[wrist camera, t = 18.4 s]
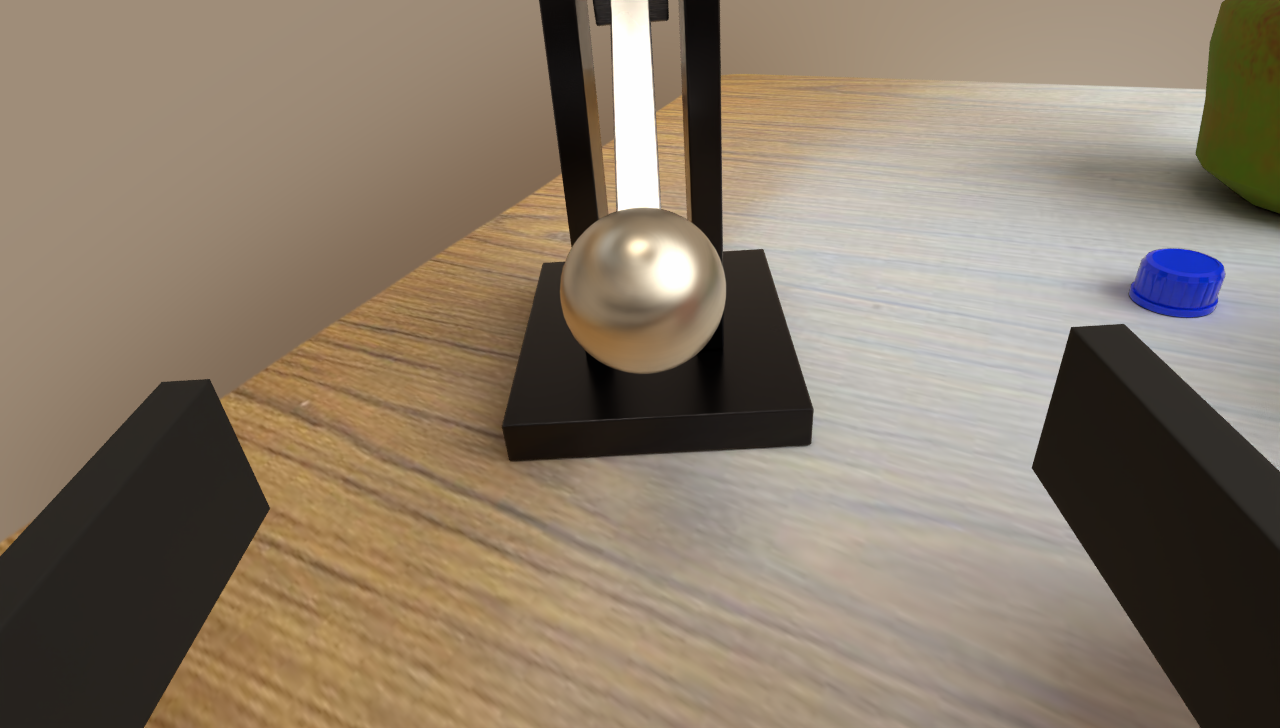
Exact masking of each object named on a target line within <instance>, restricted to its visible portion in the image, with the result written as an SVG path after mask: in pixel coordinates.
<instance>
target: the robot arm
mask: <svg viewBox="0 0 1280 728" xmlns="http://www.w3.org/2000/svg"><path fill="white" fill-rule="evenodd" d="M1032 469H1033V470H1034V472H1035V474H1036V475H1037V477H1038V478H1039V480H1040V481H1041V483H1042V484H1043V486H1044V487H1045V489H1046V490H1047V492H1048V494H1049V495H1050V497H1051V498H1052V500H1053V501H1054V503H1055V504H1056V506H1057V507H1058V509H1059V510H1060V512H1061V514H1062V515H1063V517H1064V518H1065V520H1066V521H1067V523H1068V524H1069V526H1070V527H1071V529H1072V530H1073V532H1074V533H1075V535H1076V537H1077V538H1078V540H1079V541H1080V543H1081V544H1082V546H1083V547H1084V549H1085V550H1086V552H1087V553H1088V555H1089V557H1090V558H1091V560H1092V561H1093V563H1094V564H1095V566H1096V567H1097V569H1098V570H1099V572H1100V573H1101V575H1102V577H1103V578H1104V580H1105V581H1106V583H1107V584H1108V586H1109V587H1110V589H1111V590H1112V592H1113V593H1114V595H1115V597H1116V598H1117V600H1118V601H1119V603H1120V604H1121V606H1122V607H1123V609H1124V610H1125V612H1126V613H1127V615H1128V616H1129V618H1130V620H1131V621H1132V623H1133V624H1134V626H1135V627H1136V629H1137V630H1138V632H1139V633H1140V635H1141V636H1142V638H1143V640H1144V641H1145V643H1146V644H1147V646H1148V647H1149V649H1150V650H1151V652H1152V653H1153V655H1154V656H1155V658H1156V660H1157V661H1158V663H1159V664H1160V666H1161V667H1162V669H1163V670H1164V672H1165V673H1166V675H1167V676H1168V678H1169V680H1170V681H1171V683H1172V684H1173V686H1174V687H1175V689H1176V690H1177V692H1178V693H1179V695H1180V696H1181V698H1182V699H1183V701H1184V703H1185V704H1186V706H1187V707H1188V709H1189V710H1190V712H1191V713H1192V715H1193V716H1194V718H1195V719H1196V721H1197V723H1198V724H1199V726H1200V727H1201V728H1280V471H1279V470H1278V469H1277V468H1275V467H1274V466H1273V465H1272V464H1271V463H1270V462H1269V461H1268V460H1267V459H1266V458H1265V457H1264V456H1263V455H1262V454H1261V453H1260V452H1259V451H1258V450H1256V449H1255V448H1254V447H1253V446H1252V445H1251V444H1250V443H1249V442H1248V441H1247V440H1246V439H1245V438H1244V437H1243V436H1242V435H1241V434H1240V433H1239V432H1237V431H1236V430H1235V429H1234V428H1233V427H1232V426H1231V425H1230V424H1229V423H1228V422H1227V421H1226V420H1225V419H1224V418H1223V417H1222V416H1221V415H1220V414H1218V413H1217V412H1216V411H1215V410H1214V409H1213V408H1212V407H1211V406H1210V405H1209V404H1208V403H1207V402H1206V401H1205V400H1204V399H1203V398H1202V397H1201V396H1199V395H1198V394H1197V393H1196V392H1195V391H1194V390H1193V389H1192V388H1191V387H1190V386H1189V385H1188V384H1187V383H1186V382H1185V381H1184V380H1183V379H1182V378H1180V377H1179V376H1178V375H1177V374H1176V373H1175V372H1174V371H1173V370H1172V369H1171V368H1170V367H1169V366H1168V365H1167V364H1166V363H1165V362H1164V361H1162V360H1161V359H1160V358H1159V357H1158V356H1157V355H1156V354H1155V353H1154V352H1153V351H1152V350H1151V349H1150V348H1149V347H1148V346H1147V345H1146V344H1145V343H1143V342H1142V341H1141V340H1140V339H1139V338H1138V337H1137V336H1136V335H1135V334H1134V333H1133V332H1132V331H1131V330H1130V329H1129V328H1128V327H1127V326H1126V325H1124V324H1116V325H1100V326H1083V327H1071V330H1070V334H1069V337H1068V341H1067V344H1066V348H1065V351H1064V355H1063V358H1062V362H1061V366H1060V369H1059V373H1058V376H1057V380H1056V383H1055V387H1054V391H1053V394H1052V398H1051V401H1050V405H1049V408H1048V412H1047V415H1046V419H1045V423H1044V426H1043V430H1042V433H1041V437H1040V440H1039V444H1038V448H1037V451H1036V455H1035V458H1034V462H1033V465H1032ZM269 509H270V507H269V505H268V503H267V501H266V499H265V497H264V494H263V492H262V490H261V488H260V486H259V484H258V482H257V479H256V477H255V475H254V473H253V471H252V469H251V467H250V464H249V462H248V460H247V458H246V456H245V454H244V452H243V449H242V447H241V445H240V443H239V441H238V439H237V437H236V434H235V432H234V430H233V428H232V426H231V424H230V422H229V419H228V417H227V415H226V413H225V411H224V409H223V407H222V404H221V402H220V400H219V398H218V396H217V394H216V392H215V390H214V387H213V385H212V383H211V381H210V379H205V380H188V381H171V382H161V384H160V385H159V386H158V387H157V388H156V389H155V390H154V391H153V392H152V393H151V394H150V395H149V396H148V398H147V399H146V400H145V401H144V402H143V403H142V404H141V405H140V406H139V407H138V408H137V409H136V410H135V412H134V413H133V414H132V415H131V416H130V417H129V418H128V419H127V420H126V421H125V422H124V423H123V424H122V426H121V427H120V428H119V429H118V430H117V431H116V432H115V433H114V434H113V435H112V436H111V437H110V439H109V440H108V441H107V442H106V443H105V444H104V445H103V446H102V447H101V448H100V449H99V451H97V453H96V454H95V455H94V456H93V457H92V458H91V459H90V460H89V461H88V462H87V463H86V465H85V466H84V467H83V468H82V469H81V470H80V471H79V472H78V473H77V474H76V475H75V476H74V477H73V478H72V480H71V481H70V482H69V483H68V484H67V485H66V486H65V487H64V488H63V489H62V490H61V492H60V493H59V494H58V495H57V496H56V497H55V498H54V499H53V500H52V501H51V502H50V503H49V504H48V505H47V507H46V508H45V509H44V510H43V511H42V512H41V513H40V514H39V515H38V516H37V517H36V518H35V519H34V521H33V522H32V523H31V524H30V525H29V526H28V527H27V528H26V529H25V530H24V531H23V532H22V534H21V535H20V536H19V537H18V538H17V539H16V540H15V541H14V542H13V543H12V544H11V545H10V546H9V548H8V549H7V550H6V551H5V552H4V553H3V554H2V555H1V556H0V728H144V726H145V725H146V723H147V721H148V719H149V718H150V716H151V714H152V713H153V711H154V709H155V707H156V706H157V704H158V702H159V700H160V699H161V697H162V695H163V693H164V692H165V690H166V688H167V686H168V685H169V683H170V681H171V680H172V678H173V676H174V674H175V673H176V671H177V669H178V667H179V666H180V664H181V662H182V660H183V659H184V657H185V655H186V653H187V652H188V650H189V648H190V647H191V645H192V643H193V641H194V640H195V638H196V636H197V634H198V633H199V631H200V629H201V627H202V626H203V624H204V622H205V620H206V619H207V617H208V615H209V614H210V612H211V610H212V608H213V607H214V605H215V603H216V601H217V600H218V598H219V596H220V594H221V593H222V591H223V589H224V587H225V586H226V584H227V582H228V581H229V579H230V577H231V575H232V574H233V572H234V570H235V568H236V567H237V565H238V563H239V561H240V560H241V558H242V556H243V554H244V553H245V551H246V549H247V548H248V546H249V544H250V542H251V541H252V539H253V537H254V535H255V534H256V532H257V530H258V528H259V527H260V525H261V523H262V521H263V520H264V518H265V516H266V515H267V513H268V511H269Z"/></svg>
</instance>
